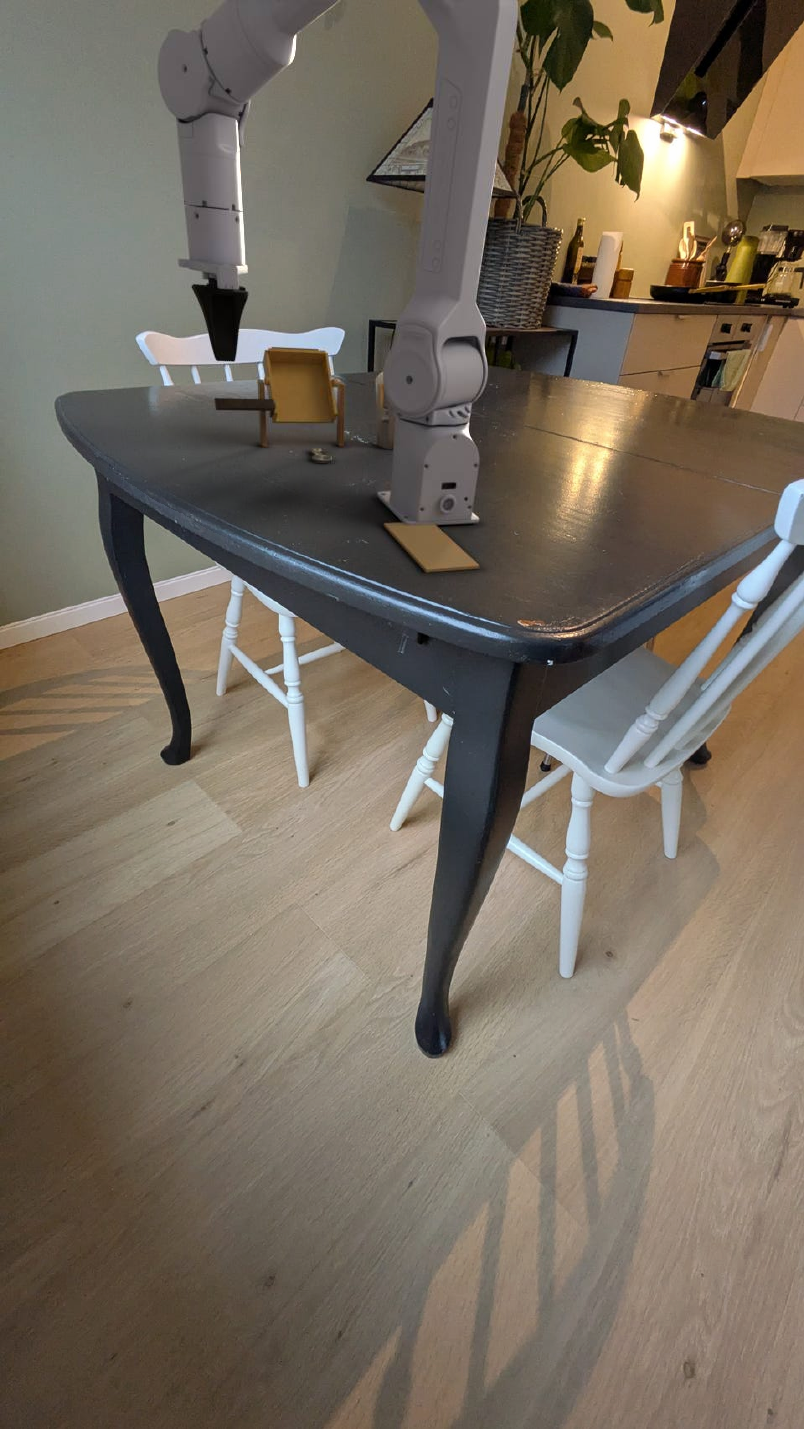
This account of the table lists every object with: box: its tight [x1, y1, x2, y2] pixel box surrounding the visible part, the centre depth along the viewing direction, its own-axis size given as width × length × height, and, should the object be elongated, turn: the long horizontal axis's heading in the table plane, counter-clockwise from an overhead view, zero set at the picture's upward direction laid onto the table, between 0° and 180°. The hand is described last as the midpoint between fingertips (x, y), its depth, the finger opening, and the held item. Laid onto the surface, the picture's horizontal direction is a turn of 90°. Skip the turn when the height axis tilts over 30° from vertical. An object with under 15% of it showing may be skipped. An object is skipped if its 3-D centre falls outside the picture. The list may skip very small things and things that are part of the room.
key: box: [308, 448, 333, 464], centre depth 79 cm, size 5×2×1 cm, turn 22°
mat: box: [383, 521, 480, 573], centre depth 58 cm, size 11×5×1 cm, turn 20°
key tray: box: [214, 346, 339, 424], centre depth 79 cm, size 9×16×3 cm
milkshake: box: [375, 371, 396, 450], centre depth 84 cm, size 4×5×10 cm
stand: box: [257, 379, 346, 448], centre depth 81 cm, size 2×11×8 cm, turn 110°
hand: (225, 360), depth 72 cm, fingers closed
